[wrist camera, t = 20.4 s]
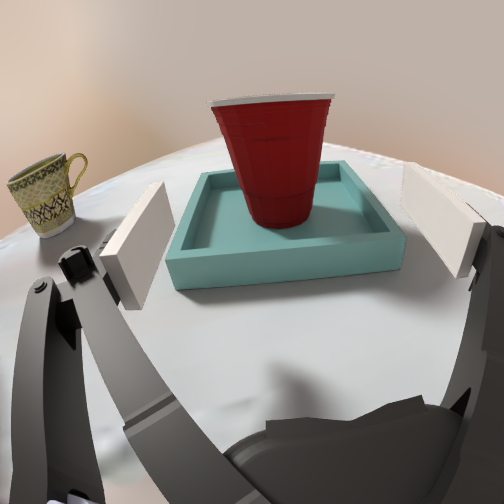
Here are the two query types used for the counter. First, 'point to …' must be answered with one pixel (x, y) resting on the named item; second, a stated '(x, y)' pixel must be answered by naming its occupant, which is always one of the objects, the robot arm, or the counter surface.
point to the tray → (282, 235)
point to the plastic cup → (275, 152)
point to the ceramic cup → (46, 194)
